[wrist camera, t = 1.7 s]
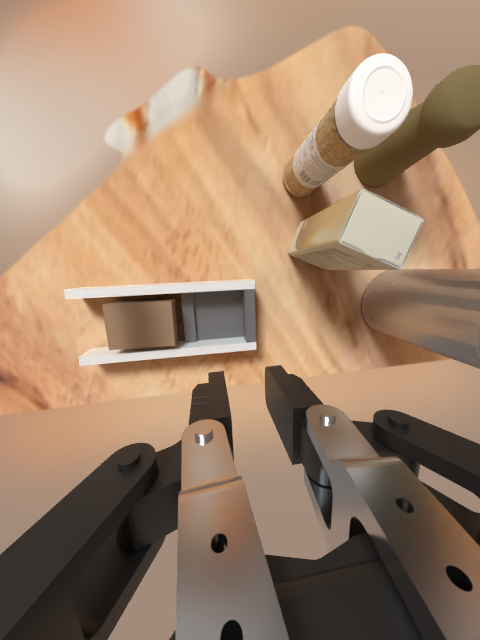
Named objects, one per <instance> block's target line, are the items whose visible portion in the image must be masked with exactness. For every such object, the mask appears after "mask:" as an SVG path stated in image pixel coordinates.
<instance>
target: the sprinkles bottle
mask: <svg viewBox="0 0 480 640" xmlns="http://www.w3.org/2000/svg"><path fill="white" fill-rule="evenodd" d="M412 96H413V89H412V81H411V77H410V74H409V72H408V70H407V68H406V67H405V65H404V64H403V63H402V62H401V61H400V60H399V59H398V58H396V57H395V56H393V55H390V54H377V55H373V56H371V57H369V58H367V59H366V60H365V61H363V62H362V63H361V64H360V65H359V66H358V68H357V69H356V70H355V71H354V73H353V74H352V75H351V76H350V78H349V79H348V80H347V82H346V83H345V85H344V86H343V87H342V89H341V91H340V93H339V95H338V98H337V99H336V101H335V102H334V104H333V105H332V106H331V108H330V109H329V110H328V112H327V113H326V114H325V115H324V116H323V117H322V118H321V120H320V121H319V122H318V124H317V125H316V126H315V128H314V129H313V130H312V132H311V133H310V134H309V136H308V137H307V138H306V140H305V141H304V142H303V143H302V145H301V146H300V147H299V149H298V150H297V152H296V154H295V155H294V156H293V158H291V159H290V160H289V161H288V163H287V164H286V166H285V168H284V171H283V181H284V185H285V187H286V189H287V190H288V192H289V193H291V194H292V195H294V196H296V197H305V196H307V195H309V194H311V193H312V192H313V191H314V190H315V189H316V188H317V187H319V186H320V185H322V184H323V183H324V182H326V181H327V180H328V179H330V178H331V177H333V176H334V175H335V174H337V173H338V172H339V171H341V170H342V169H343V168H345V167H346V166H347V165H348V164H349V163H351V162H352V161H353V160H354V159H356V158H357V157H358V156H360V155H361V154H362V153H363V152H365V151H366V150H367V149H370V148H372V147H375V146H377V145H378V144H379V143H381V142H382V141H384V140H385V139H386V138H387V137H389V136H390V135H391V134H393V133H394V132H395V131H396V130H397V129H398V128H399V127H400V126H401V125H402V123H403V122H404V120H405V119H406V117H407V115H408V113H409V110H410V107H411V103H412Z"/></svg>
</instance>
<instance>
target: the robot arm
mask: <svg viewBox="0 0 480 640" xmlns="http://www.w3.org/2000/svg"><path fill="white" fill-rule="evenodd" d="M362 314H363V318H364V320H365V322H366V323H367V324H368V326H369V327H370V328H372V329H373V330H375V331H377V332H380V333H383V334H385V335H388V336H391V337H394V338H396V339H399V340H401V341H404V342H407V343H410V344H412V345H415V346H418V347H421V348H424V349H426V350H429V351H432V352H435V353H437V354H440V355H443V356H446V357H448V358H451V359H454V360H457V361H460V362H462V363H465V364H468V365H471V366H474V367H476V368H479V369H480V269H399V270H389V271H385V272H383V273H381V274H380V275H378V276H377V277H376V278H374V279H373V281H372V282H371V283H370V284H369V285H368V287H367V289H366V291H365V293H364V296H363V300H362ZM265 397H266V404H267V408H268V410H269V413H270V415H271V417H272V419H273V422H274V424H275V426H276V429H277V431H278V433H279V435H280V438H281V440H282V442H283V444H284V447H285V449H286V451H287V453H288V456H289V458H290V460H291V462H292V464H293V465H294V464H300V463H302V464H303V466H304V468H305V470H304V480H305V483H306V486H307V489H308V492H309V495H310V498H311V500H312V503H313V506H314V509H315V512H316V514H317V517H318V520H319V523H320V526H321V529H322V531H323V534H324V537H325V540H326V543H327V548H328V554H326V555H325V556H323V557H322V558H320V559H318V560H309V559H300V558H291V557H282V556H273V555H265V554H264V550H263V547H262V543H261V540H260V536H259V533H258V529H257V526H256V522H255V519H254V516H253V512H252V509H251V505H250V502H249V498H248V495H247V491H246V488H245V484H244V481H243V479H242V477H241V476H238V475H237V472H236V468H235V464H234V455H233V440H232V439H233V438H232V421H231V412H230V406H229V401H228V395H227V389H226V383H225V377H224V371H220V372H210V373H209V383H204V384H198V385H197V386H196V387H195V388H194V389H193V392H192V401H191V410H190V419H189V426H188V427H187V428H186V429H185V430H184V432H183V434H182V439H181V440H180V441H179V442H178V443H176V444H175V445H173V446H171V447H168V448H166V449H164V450H161V451H158V452H155V450H154V448H153V447H152V446H151V445H149V444H147V443H135V444H131V445H128V446H125V447H123V448H121V449H119V450H118V451H116V452H115V453H114V454H112V455H111V456H110V457H109V458H108V459H107V460H106V461H104V462H103V463H102V464H101V465H100V466H99V467H98V468H96V469H95V470H94V471H93V472H92V473H91V474H90V475H89V476H88V477H86V478H85V479H84V480H83V481H82V482H81V483H80V484H79V485H78V486H76V487H75V488H74V489H73V490H72V491H71V492H70V493H69V494H68V495H66V496H65V497H64V498H63V499H62V500H61V501H60V502H59V503H57V504H56V505H55V506H54V507H53V508H52V509H51V510H50V511H49V512H47V513H46V514H45V515H44V516H43V517H42V518H41V519H40V520H38V522H36V523H35V524H34V525H33V526H32V527H31V528H30V529H28V530H27V531H26V532H25V533H24V534H23V535H22V536H21V537H20V538H19V539H17V540H16V541H15V542H14V543H13V544H12V545H11V546H9V548H7V549H6V550H5V551H4V552H3V553H2V554H1V555H0V640H107V639H108V638H109V636H110V634H111V632H112V631H113V629H114V627H115V626H116V624H117V622H118V620H119V619H120V617H121V615H122V614H123V612H124V610H125V608H126V607H127V605H128V603H129V601H130V600H131V598H132V596H133V594H134V593H135V591H136V589H137V587H138V585H139V584H140V582H141V581H142V579H143V577H144V575H145V574H146V572H147V570H148V568H149V567H150V565H151V563H152V562H153V560H154V558H155V556H156V554H157V553H158V551H159V549H160V548H161V546H162V544H163V542H164V539H165V537H166V535H167V534H169V533H171V532H173V531H174V530H176V529H178V539H177V542H178V543H177V590H176V630H175V632H174V633H173V635H172V636H171V638H170V639H169V640H480V513H476V512H473V511H471V510H469V509H467V508H466V507H464V506H462V505H461V504H459V503H457V502H455V501H454V500H452V499H450V498H448V497H447V496H445V495H443V494H442V493H440V492H438V491H437V490H435V489H433V488H431V487H430V486H428V485H426V484H425V483H423V482H421V481H420V480H419V479H418V475H419V469H420V464H421V465H423V466H425V467H426V468H428V469H430V470H432V471H434V472H436V473H438V474H439V475H441V476H443V477H445V478H447V479H449V480H451V481H452V482H454V483H456V484H458V485H460V486H462V487H463V488H465V489H467V490H469V491H471V492H472V493H474V494H475V495H476V496H478V497H479V498H480V444H478V443H475V442H473V441H470V440H468V439H466V438H463V437H461V436H458V435H456V434H453V433H451V432H449V431H446V430H444V429H441V428H439V427H436V426H434V425H432V424H429V423H427V422H424V421H422V420H419V419H417V418H415V417H412V416H410V415H407V414H405V413H402V412H399V411H394V410H380V411H377V412H376V413H375V414H374V417H373V423H371V422H359V421H351V420H350V419H349V418H348V416H347V415H346V414H345V413H344V412H342V411H341V410H339V409H338V408H335V407H333V406H329V405H324V404H323V403H322V402H321V401H320V400H319V399H318V398H317V396H316V395H315V394H314V393H313V392H312V391H311V390H310V388H309V387H308V386H307V385H306V384H305V383H304V381H303V380H302V379H301V378H299V377H297V376H295V375H294V374H287V372H286V371H285V370H284V369H283V367H282V366H281V365H279V366H269V367H266V368H265Z"/></svg>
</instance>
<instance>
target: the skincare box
mask: <svg viewBox="0 0 480 640" xmlns="http://www.w3.org/2000/svg"><path fill="white" fill-rule="evenodd" d="M423 221H424V220H423V218H421V217H419V216H418V215H416V214H414V213H413V212H411V211H409V210H407V209H405V208H403V207H401V206H399V205H397V204H395V203H393V202H391V201H389V200H387V199H385V198H383V197H381V196H379V195H376V194H374V193H372V192H370V191H367V190H365V189H360V190H359V191H357V192H355V193H353V194H351V195H349V196H348V197H346V198H344V199H342V200H340V201H339V202H337V203H335V204H333V205H331V206H329V207H327V208H326V209H324V210H322V211H320V212H318V213H316V214H315V215H313V216H311V217H309V218H307V219H305V220H304V221H302V222H300V224H299V227H298V229H297V231H296V234H295V236H294V239H293V241H292V244H291V246H290V249H289V252H288V254H289V255H291V256H293V257H295V258H298V259H300V260H302V261H305V262H307V263H310V264H312V265H315V266H317V267H320V268H323V269H326V270H394V269H397V270H399V269H401V268H402V266H403V264H404V262H405V260H406V258H407V256H408V254H409V252H410V250H411V248H412V245H413V243H414V241H415V239H416V237H417V235H418V233H419V230H420V228H421V225H422V223H423Z"/></svg>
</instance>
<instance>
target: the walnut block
mask: <svg viewBox="0 0 480 640" xmlns="http://www.w3.org/2000/svg"><path fill="white" fill-rule="evenodd" d="M102 307H103V314H104V320H105V326H106V333H107V339H108V346H109V350H119V349H134V348H149V347H164V346H175V345H176V342H177V340H178V338H179V330H178V318H177V306H176V298H158V299H132V300H115V301H112V302H109V303H106V304H103V305H102Z"/></svg>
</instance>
